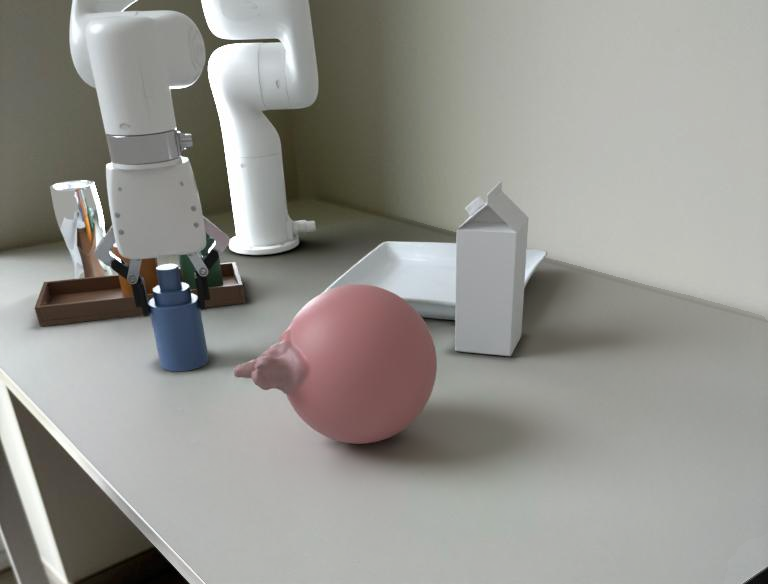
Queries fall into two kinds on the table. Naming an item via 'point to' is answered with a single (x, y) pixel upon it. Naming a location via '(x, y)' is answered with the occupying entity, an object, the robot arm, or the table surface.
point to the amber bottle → (146, 272)
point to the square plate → (419, 274)
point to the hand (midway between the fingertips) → (174, 308)
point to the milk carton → (490, 275)
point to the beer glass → (80, 225)
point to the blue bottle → (177, 322)
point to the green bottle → (188, 268)
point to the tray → (116, 298)
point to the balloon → (352, 364)
